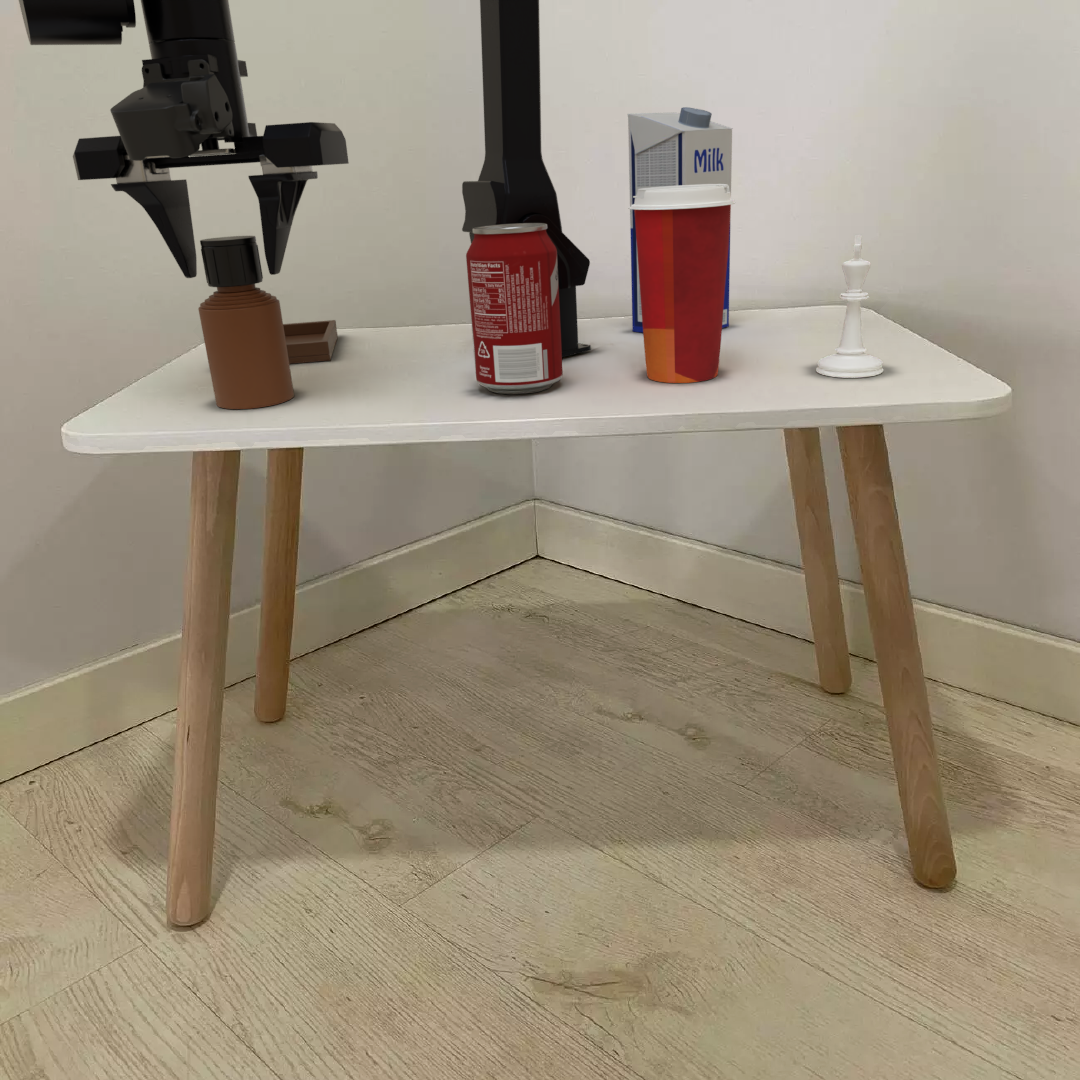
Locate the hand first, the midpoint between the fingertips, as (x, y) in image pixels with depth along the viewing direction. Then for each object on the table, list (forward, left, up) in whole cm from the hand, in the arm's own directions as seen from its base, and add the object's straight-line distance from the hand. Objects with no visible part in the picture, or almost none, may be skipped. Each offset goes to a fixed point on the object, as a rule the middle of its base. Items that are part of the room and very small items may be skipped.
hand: (232, 275), depth 72 cm
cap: (0, 0, -1) cm, 1 cm away
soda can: (-15, -15, -10) cm, 23 cm away
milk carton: (-10, -41, -10) cm, 43 cm away
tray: (+17, -12, -10) cm, 23 cm away
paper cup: (-23, -25, -10) cm, 35 cm away
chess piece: (-33, -33, -10) cm, 48 cm away
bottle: (0, 0, -10) cm, 10 cm away
